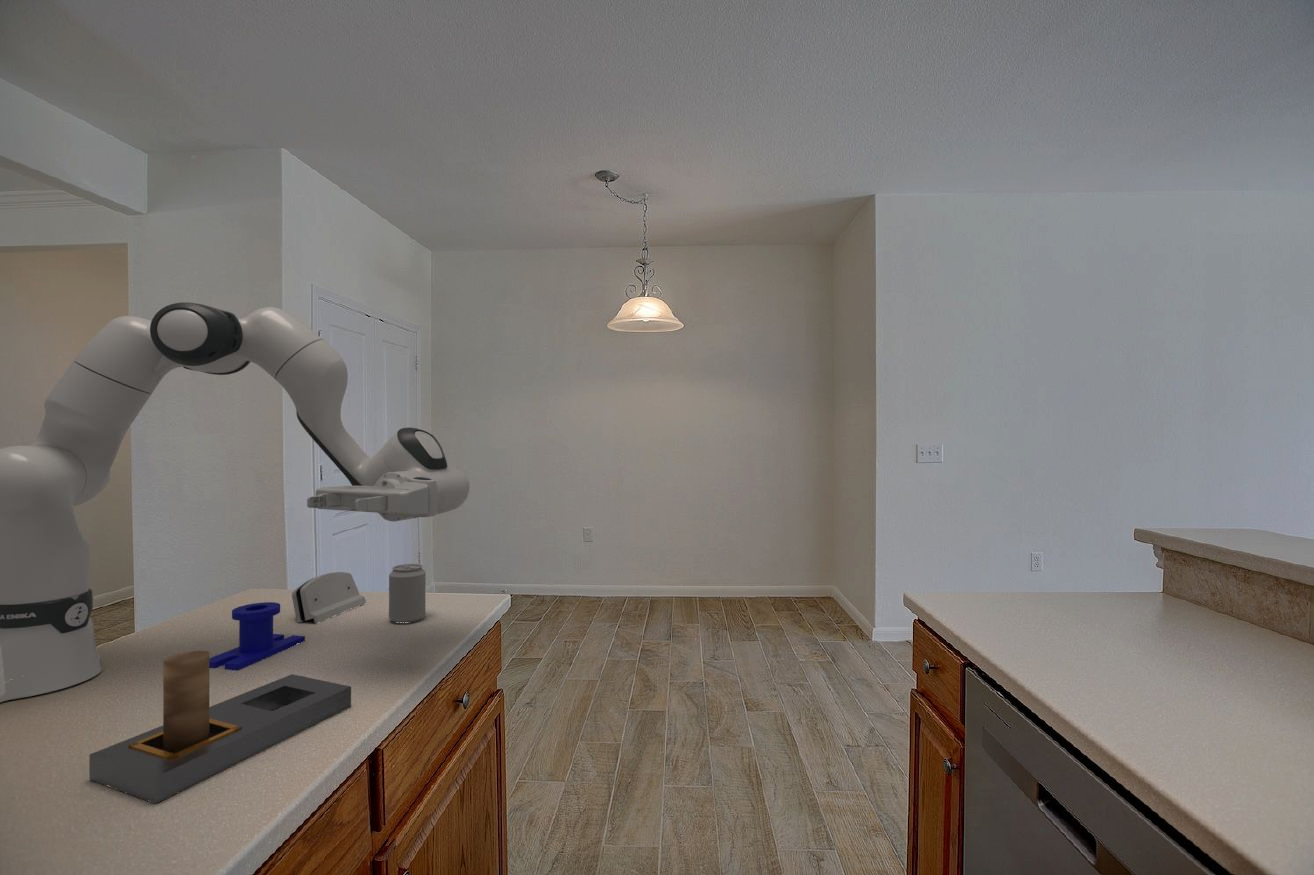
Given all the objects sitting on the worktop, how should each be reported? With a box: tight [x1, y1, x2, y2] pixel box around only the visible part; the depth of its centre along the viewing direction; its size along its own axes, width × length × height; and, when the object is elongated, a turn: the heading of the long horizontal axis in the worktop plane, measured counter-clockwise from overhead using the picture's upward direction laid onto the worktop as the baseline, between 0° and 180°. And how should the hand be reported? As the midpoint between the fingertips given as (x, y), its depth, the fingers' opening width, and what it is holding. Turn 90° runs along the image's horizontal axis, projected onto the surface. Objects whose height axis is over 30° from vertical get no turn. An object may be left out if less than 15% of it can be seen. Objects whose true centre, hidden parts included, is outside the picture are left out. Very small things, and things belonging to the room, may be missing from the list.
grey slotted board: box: [88, 673, 352, 805], centre depth 79 cm, size 12×26×3 cm, turn 159°
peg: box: [162, 650, 210, 754], centre depth 74 cm, size 4×4×13 cm
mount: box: [209, 601, 306, 672], centre depth 111 cm, size 15×8×9 cm, turn 169°
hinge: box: [291, 571, 367, 624], centre depth 137 cm, size 17×5×10 cm, turn 169°
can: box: [388, 563, 427, 623], centre depth 131 cm, size 8×8×12 cm
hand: (331, 503), depth 93 cm, fingers open, 8 cm apart
